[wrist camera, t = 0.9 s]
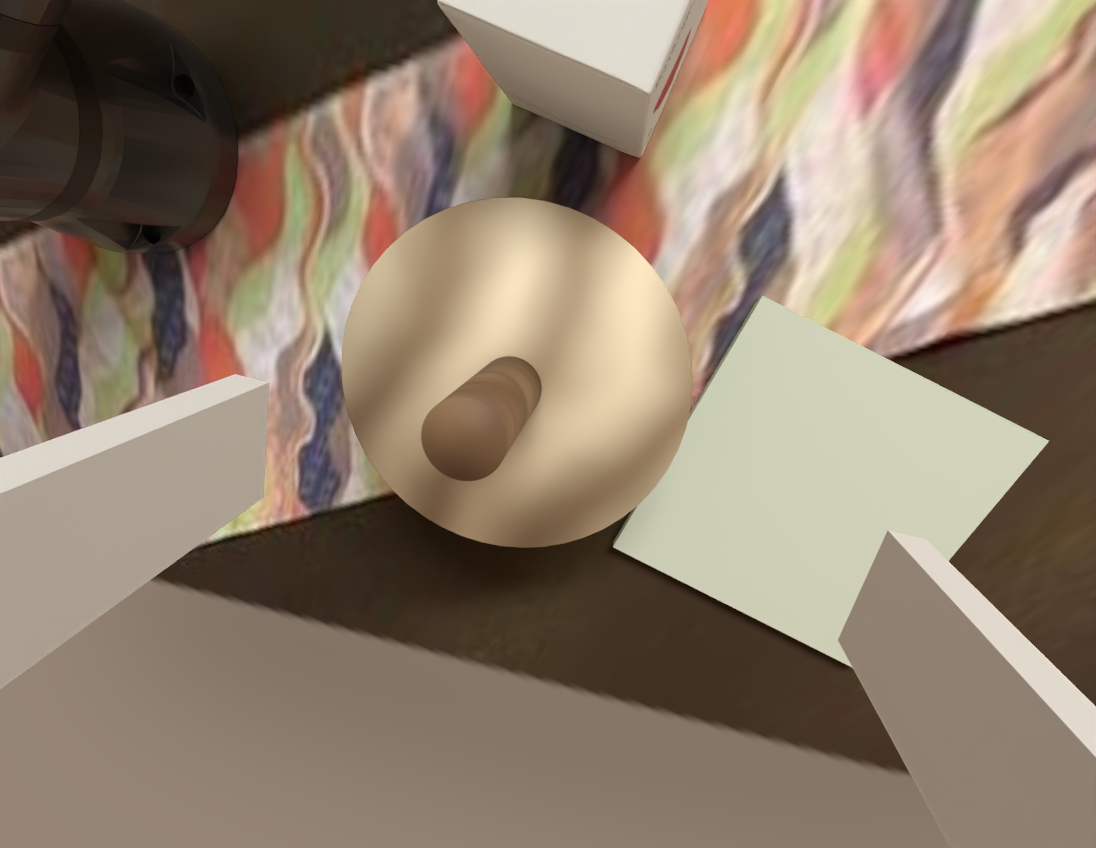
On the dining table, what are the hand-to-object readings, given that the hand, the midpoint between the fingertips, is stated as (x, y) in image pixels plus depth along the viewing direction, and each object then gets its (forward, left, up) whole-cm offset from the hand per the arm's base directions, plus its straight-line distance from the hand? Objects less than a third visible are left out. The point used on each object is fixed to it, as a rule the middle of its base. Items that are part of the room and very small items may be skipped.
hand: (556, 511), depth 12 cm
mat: (+17, -4, -28) cm, 33 cm away
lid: (-4, -4, -20) cm, 20 cm away
